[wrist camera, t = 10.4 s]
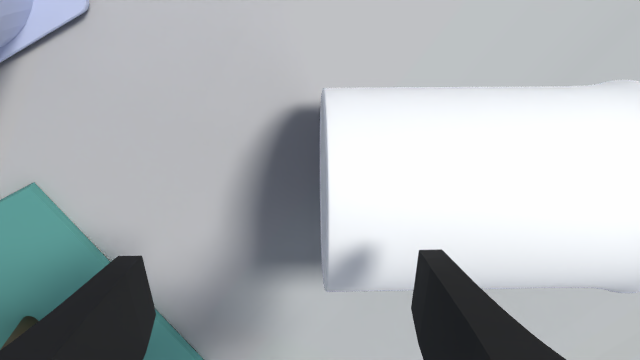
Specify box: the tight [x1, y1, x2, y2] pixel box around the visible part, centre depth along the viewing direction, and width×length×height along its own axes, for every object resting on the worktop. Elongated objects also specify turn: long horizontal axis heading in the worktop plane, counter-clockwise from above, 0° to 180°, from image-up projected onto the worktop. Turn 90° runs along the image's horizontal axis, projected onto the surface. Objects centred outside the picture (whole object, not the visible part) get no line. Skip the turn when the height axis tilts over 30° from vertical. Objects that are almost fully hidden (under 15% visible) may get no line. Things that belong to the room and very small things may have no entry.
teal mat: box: [0, 183, 204, 360], centre depth 26 cm, size 16×16×1 cm
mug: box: [320, 80, 640, 293], centre depth 19 cm, size 12×8×12 cm
